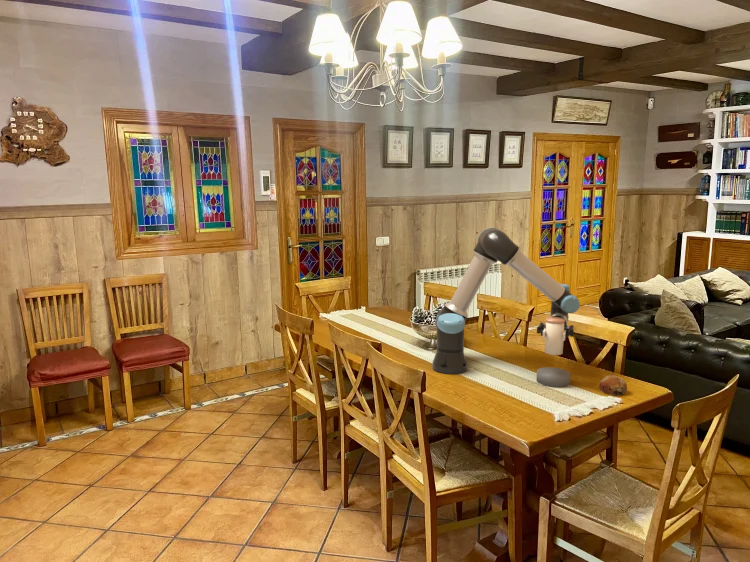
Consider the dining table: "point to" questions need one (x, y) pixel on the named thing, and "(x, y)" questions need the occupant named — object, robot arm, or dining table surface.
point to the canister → (554, 335)
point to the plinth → (553, 377)
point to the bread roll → (613, 385)
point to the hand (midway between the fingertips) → (553, 336)
